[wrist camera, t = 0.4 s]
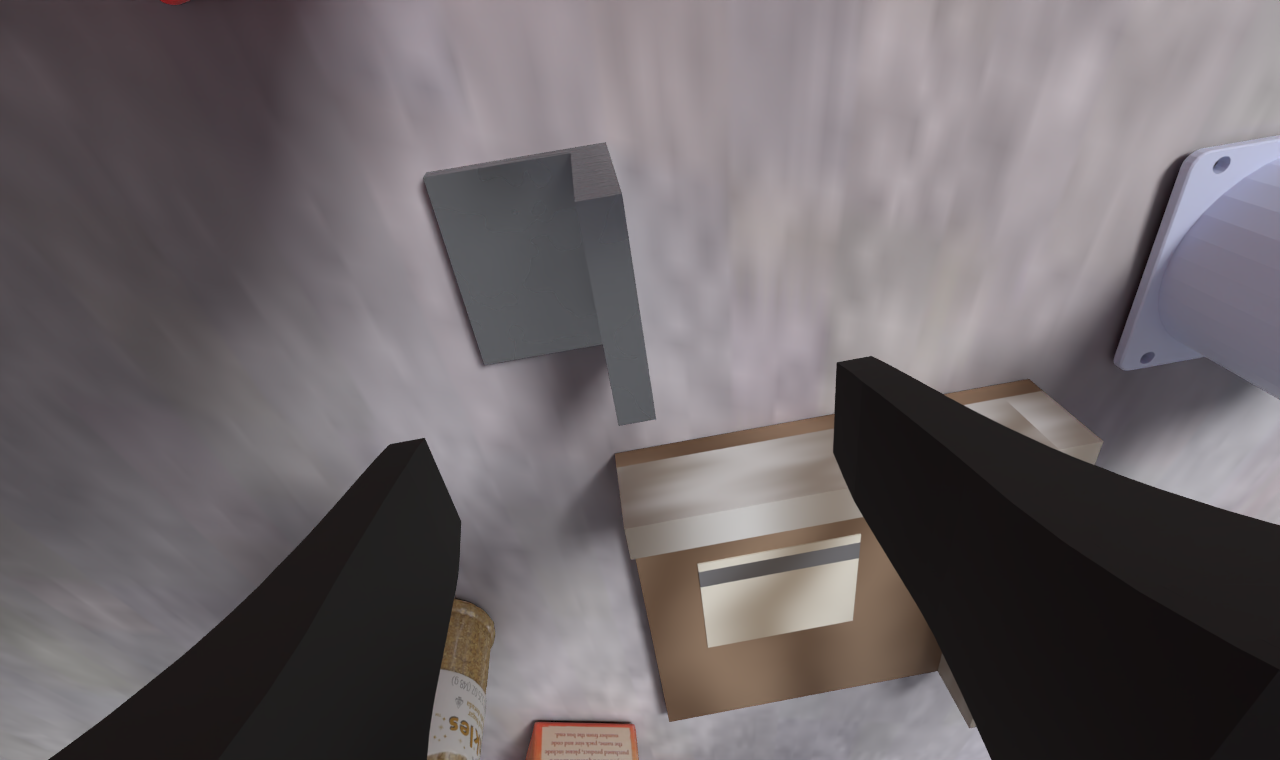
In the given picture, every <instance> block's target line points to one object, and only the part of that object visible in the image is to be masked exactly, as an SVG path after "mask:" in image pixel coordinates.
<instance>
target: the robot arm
mask: <svg viewBox="0 0 1280 760" xmlns="http://www.w3.org/2000/svg"><path fill="white" fill-rule="evenodd" d="M1216 161H1218V162H1217V164H1216V165H1215V166H1214V164H1215V163H1216ZM1213 166H1214V167H1213ZM1202 357H1207V358H1208V359H1210V360H1212V361H1213V362H1215V363H1217V364H1219V365H1220V366H1222V367H1224V368H1226V369H1227V370H1229V371H1231V372H1233V373H1234V374H1236V375H1238V376H1239V377H1241V378H1243V379H1245V380H1246V381H1248V382H1250V383H1252V384H1253V385H1255V386H1257V387H1259V388H1260V389H1262V390H1264V391H1266V392H1267V393H1269V394H1271V395H1272V396H1274V397H1276V398H1278V399H1279V400H1280V135H1277V136H1271V137H1265V138H1259V139H1253V140H1248V141H1242V142H1236V143H1230V144H1224V145H1219V146H1213V147H1207V148H1202V149H1199V150H1196V151H1194V152H1193V153H1192V154H1190V155H1189V156H1188V157H1187V158H1186V159H1185V160H1184V162H1183V163H1182V165H1181V167H1180V170H1179V173H1178V176H1177V179H1176V182H1175V185H1174V188H1173V190H1172V193H1171V196H1170V199H1169V202H1168V205H1167V208H1166V210H1165V213H1164V216H1163V219H1162V222H1161V225H1160V228H1159V230H1158V233H1157V236H1156V239H1155V242H1154V245H1153V248H1152V251H1151V253H1150V256H1149V259H1148V262H1147V265H1146V268H1145V271H1144V273H1143V276H1142V279H1141V282H1140V285H1139V288H1138V291H1137V293H1136V296H1135V299H1134V302H1133V305H1132V308H1131V311H1130V314H1129V316H1128V319H1127V322H1126V325H1125V328H1124V331H1123V334H1122V336H1121V339H1120V342H1119V345H1118V348H1117V351H1116V354H1115V356H1114V364H1115V365H1116V366H1118V367H1119V368H1120V369H1122V370H1124V371H1130V370H1136V369H1141V368H1147V367H1152V366H1158V365H1163V364H1169V363H1174V362H1180V361H1186V360H1191V359H1197V358H1202ZM833 454H834V456H835V459H836V461H837V463H838V466H839V468H840V471H841V473H842V475H843V478H844V480H845V482H846V485H847V487H848V489H849V491H850V493H851V496H852V498H853V500H854V502H855V504H856V505H857V507H858V509H859V511H860V512H861V514H862V516H863V517H864V519H865V521H866V522H867V524H868V526H869V527H870V529H871V531H872V532H873V534H874V536H875V537H876V539H877V541H878V542H879V544H880V546H881V547H882V549H883V550H884V552H885V554H886V555H887V557H888V559H889V560H890V562H891V564H892V565H893V567H894V568H895V570H896V572H897V573H898V575H899V577H900V578H901V580H902V582H903V583H904V585H905V587H906V588H907V590H908V591H909V593H910V595H911V596H912V598H913V600H914V601H915V603H916V605H917V606H918V608H919V610H920V611H921V613H922V615H923V617H924V619H925V620H926V622H927V624H928V626H929V628H930V629H931V631H932V633H933V635H934V637H935V639H936V641H937V643H938V645H939V647H940V649H941V652H942V654H943V656H944V658H945V660H946V662H947V664H948V666H949V668H950V670H951V672H952V674H953V677H954V679H955V681H956V683H957V685H958V687H959V689H960V691H961V693H962V696H963V698H964V700H965V702H966V704H967V707H968V709H969V711H970V713H971V715H972V718H973V720H974V722H975V724H976V726H977V729H978V731H979V733H980V735H981V737H982V740H983V742H984V744H985V746H986V748H987V751H988V753H989V755H990V757H991V760H1280V525H1276V524H1273V523H1269V522H1265V521H1262V520H1258V519H1255V518H1251V517H1248V516H1244V515H1241V514H1237V513H1234V512H1230V511H1227V510H1224V509H1220V508H1217V507H1214V506H1211V505H1208V504H1205V503H1201V502H1198V501H1195V500H1192V499H1189V498H1186V497H1183V496H1180V495H1177V494H1173V493H1170V492H1167V491H1164V490H1161V489H1158V488H1155V487H1152V486H1149V485H1147V484H1144V483H1141V482H1138V481H1135V480H1132V479H1129V478H1127V477H1124V476H1121V475H1119V474H1116V473H1114V472H1111V471H1109V470H1106V469H1103V468H1101V467H1098V466H1096V465H1093V464H1091V463H1088V462H1085V461H1083V460H1080V459H1078V458H1075V457H1073V456H1070V455H1068V454H1066V453H1063V452H1061V451H1058V450H1056V449H1054V448H1051V447H1049V446H1047V445H1045V444H1043V443H1040V442H1038V441H1036V440H1034V439H1032V438H1030V437H1027V436H1025V435H1023V434H1021V433H1019V432H1017V431H1014V430H1012V429H1010V428H1008V427H1006V426H1004V425H1002V424H1000V423H998V422H996V421H994V420H992V419H990V418H988V417H986V416H984V415H982V414H980V413H978V412H976V411H974V410H972V409H970V408H968V407H966V406H964V405H962V404H960V403H959V402H957V401H955V400H953V399H951V398H949V397H947V396H945V395H944V394H942V393H940V392H938V391H936V390H934V389H933V388H931V387H929V386H927V385H925V384H923V383H922V382H920V381H918V380H916V379H914V378H912V377H911V376H909V375H907V374H905V373H903V372H901V371H900V370H898V369H896V368H894V367H892V366H890V365H888V364H887V363H885V362H883V361H881V360H879V359H876V358H874V357H872V356H869V357H864V358H859V359H853V360H848V361H842V362H837V370H836V393H835V416H834V439H833ZM460 537H461V520H460V518H459V515H458V513H457V511H456V509H455V506H454V504H453V502H452V499H451V497H450V495H449V493H448V490H447V488H446V486H445V483H444V481H443V479H442V477H441V474H440V472H439V470H438V467H437V465H436V463H435V460H434V458H433V456H432V454H431V451H430V449H429V447H428V444H427V442H426V440H425V438H422V439H417V440H411V441H406V442H400V443H395V444H390V445H389V446H388V447H387V448H386V449H385V450H384V451H383V452H382V453H381V454H380V455H379V456H378V457H377V458H376V459H375V460H374V461H373V463H372V464H371V465H370V466H369V467H368V468H367V469H366V470H365V472H364V473H363V474H362V475H361V476H360V477H359V478H358V480H357V481H356V482H355V483H354V484H353V485H352V486H351V488H350V489H349V490H348V491H347V492H346V493H345V495H344V496H343V497H342V498H341V499H340V500H339V501H338V502H337V504H336V505H335V506H334V507H333V508H332V509H331V510H330V511H329V512H328V514H327V515H326V516H325V517H324V518H323V519H322V520H321V521H320V523H319V524H318V525H317V526H316V527H315V528H314V529H313V530H312V532H311V533H310V534H309V535H308V536H307V537H306V538H305V539H304V540H303V541H302V542H301V543H300V544H299V545H298V546H297V547H296V548H295V549H294V550H293V551H292V552H291V554H290V555H289V556H288V557H287V558H286V559H285V560H284V561H283V562H282V563H281V564H280V565H279V566H278V567H277V568H276V569H275V570H274V571H273V572H272V573H271V574H270V575H269V576H268V577H267V578H266V579H265V580H264V581H263V582H262V584H261V585H260V586H259V587H258V588H257V589H256V590H254V591H253V592H252V593H251V594H250V595H249V596H248V597H247V598H246V599H245V600H244V601H243V602H242V603H241V604H240V605H239V606H238V607H237V608H236V609H235V610H233V611H232V612H231V613H230V614H229V615H228V616H227V617H226V618H225V619H224V620H223V621H221V622H220V623H219V624H218V625H217V626H216V627H215V628H214V629H212V630H211V631H210V632H209V633H208V634H207V635H206V636H205V637H203V638H202V639H201V640H200V641H199V642H198V643H197V644H196V645H195V646H193V647H192V648H191V649H190V650H189V651H187V652H186V653H185V654H184V655H183V656H182V657H180V658H179V659H178V660H177V661H176V662H174V663H173V664H172V665H171V666H169V667H168V668H167V669H166V670H164V671H163V672H162V673H161V674H159V675H158V676H157V677H156V678H154V679H153V680H152V681H151V682H149V683H148V684H147V685H146V686H144V687H143V688H142V689H141V690H139V691H138V692H137V693H136V694H134V695H133V696H132V697H131V698H129V699H128V700H127V701H126V702H124V703H123V704H122V705H121V706H119V707H118V708H117V709H116V710H114V711H113V712H112V713H111V714H109V715H108V716H107V717H106V718H104V719H103V720H102V721H100V722H99V723H98V724H96V725H95V726H94V727H92V728H91V729H90V730H88V731H87V732H85V733H84V734H83V735H81V736H80V737H79V738H77V739H76V740H75V741H73V742H72V743H71V744H69V745H68V746H66V747H65V748H64V749H62V750H61V751H60V752H58V753H57V754H56V755H54V756H53V757H51V758H50V759H49V760H427V754H428V743H429V733H430V726H431V719H432V712H433V706H434V700H435V694H436V689H437V684H438V679H439V674H440V669H441V664H442V659H443V653H444V648H445V643H446V638H447V633H448V628H449V623H450V618H451V612H452V607H453V601H454V596H455V591H456V585H457V579H458V572H459V557H460Z"/></svg>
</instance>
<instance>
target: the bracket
mask: <svg viewBox="0 0 1280 760" xmlns="http://www.w3.org/2000/svg"><path fill="white" fill-rule="evenodd" d="M423 179H424V182H425V185H426V188H427V191H428V194H429V198H430V201H431V204H432V207H433V210H434V213H435V216H436V219H437V222H438V225H439V228H440V231H441V234H442V237H443V240H444V243H445V246H446V249H447V252H448V255H449V259H450V262H451V265H452V268H453V271H454V274H455V277H456V280H457V283H458V286H459V289H460V292H461V295H462V298H463V301H464V304H465V307H466V310H467V313H468V316H469V319H470V323H471V326H472V329H473V332H474V335H475V338H476V341H477V344H478V347H479V350H480V353H481V356H482V359H483V362H484V365H488V364H494V363H500V362H505V361H511V360H517V359H522V358H528V357H534V356H539V355H545V354H551V353H556V352H562V351H568V350H573V349H579V348H585V347H591V346H596V345H602V344H603V348H604V353H605V358H606V364H607V369H608V374H609V379H610V384H611V389H612V394H613V399H614V404H615V410H616V415H617V420H618V425H619V426H620V425H626V424H632V423H637V422H643V421H648V420H654V419H656V416H655V409H654V402H653V396H652V389H651V383H650V376H649V369H648V363H647V356H646V350H645V343H644V336H643V330H642V323H641V317H640V310H639V303H638V297H637V290H636V284H635V277H634V270H633V264H632V257H631V251H630V244H629V237H628V231H627V224H626V217H625V211H624V204H623V198H622V192H621V189H620V186H619V183H618V180H617V177H616V173H615V170H614V167H613V164H612V161H611V157H610V154H609V151H608V148H607V145H606V142H605V143H599V144H593V145H587V146H581V147H575V148H569V149H563V150H557V151H552V152H546V153H540V154H534V155H528V156H522V157H516V158H510V159H504V160H498V161H492V162H486V163H480V164H474V165H469V166H463V167H457V168H451V169H445V170H439V171H433V172H427V173H426V174H425V176H424V177H423Z"/></svg>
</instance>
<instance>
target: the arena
mask: <svg viewBox="0 0 1280 760" xmlns="http://www.w3.org/2000/svg"><path fill="white" fill-rule="evenodd" d="M944 395H945V396H947V397H949V398H951V399H953V400H955V401H957V402H959V403H960V404H962V405H964V406H966V407H968V408H970V409H972V410H974V411H976V412H978V413H980V414H982V415H984V416H986V417H988V418H990V419H992V420H994V421H996V422H998V423H1000V424H1002V425H1004V426H1006V427H1008V428H1010V429H1012V430H1014V431H1017V432H1019V433H1021V434H1023V435H1025V436H1027V437H1030V438H1032V439H1034V440H1036V441H1038V442H1040V443H1043V444H1045V445H1047V446H1049V447H1051V448H1054V449H1056V450H1058V451H1061V452H1063V453H1066V454H1068V455H1070V456H1073V457H1075V458H1078V459H1080V460H1083V461H1085V462H1088V463H1091V464H1093V465H1095V463H1096V460H1097V457H1098V455H1099V452H1100V449H1101V447H1102V444H1103V441H1102V440H1101V439H1100V438H1099V437H1098V436H1096V435H1095V434H1094V433H1093V432H1092V431H1090V430H1089V429H1088V428H1087V427H1086V426H1084V425H1083V424H1082V423H1081V422H1080V421H1078V420H1077V419H1076V418H1075V417H1074V416H1072V415H1071V414H1070V413H1069V412H1068V411H1066V410H1065V409H1064V408H1063V407H1062V406H1061V405H1059V404H1058V403H1057V402H1056V401H1055V400H1053V399H1052V398H1051V397H1050V396H1049V395H1047V394H1046V393H1045V392H1044V391H1043V390H1041V389H1040V388H1039V387H1038V386H1037V385H1035V384H1034V383H1033V382H1032V381H1031V380H1030V379H1027V380H1021V381H1016V382H1010V383H1004V384H999V385H993V386H988V387H982V388H977V389H971V390H966V391H960V392H954V393H949V394H944ZM834 416H835V414H832V415H827V416H821V417H816V418H810V419H805V420H799V421H793V422H788V423H782V424H777V425H771V426H766V427H760V428H755V429H749V430H743V431H738V432H732V433H727V434H721V435H716V436H710V437H705V438H699V439H693V440H688V441H682V442H677V443H671V444H666V445H660V446H655V447H649V448H643V449H638V450H632V451H627V452H621V453H616V454H615V460H616V468H617V476H618V484H619V492H620V500H621V508H622V516H623V523H624V530H625V535H626V540H627V544H628V549H629V554H630V558H631V560H632V559H636V564H637V568H638V573H639V578H640V583H641V588H642V592H643V597H644V602H645V607H646V612H647V616H648V621H649V626H650V631H651V636H652V640H653V645H654V650H655V655H656V660H657V664H658V669H659V674H660V679H661V684H662V688H663V693H664V698H665V703H666V708H667V712H668V717H669V722H672V721H677V720H682V719H688V718H693V717H698V716H703V715H709V714H714V713H719V712H724V711H730V710H735V709H740V708H745V707H751V706H756V705H761V704H766V703H772V702H777V701H782V700H787V699H793V698H798V697H803V696H808V695H814V694H819V693H824V692H829V691H835V690H840V689H845V688H851V687H856V686H861V685H866V684H872V683H877V682H882V681H887V680H893V679H898V678H903V677H908V676H914V675H919V674H924V673H929V672H935V671H938V672H939V674H940V676H941V678H942V680H943V681H944V683H945V685H946V687H947V689H948V690H949V692H950V694H951V696H952V698H953V699H954V701H955V703H956V705H957V707H958V708H959V710H960V712H961V714H962V716H963V717H964V719H965V721H966V723H967V725H968V726H969V728H973V727H977V726H976V724H975V722H974V720H973V718H972V715H971V713H970V711H969V709H968V707H967V704H966V702H965V700H964V698H963V696H962V693H961V691H960V689H959V687H958V685H957V683H956V681H955V679H954V677H953V674H952V672H951V670H950V668H949V666H948V664H947V662H946V660H945V658H944V656H943V654H942V652H941V649H940V647H939V645H938V643H937V641H936V639H935V637H934V635H933V633H932V631H931V629H930V628H929V626H928V624H927V622H926V620H925V619H924V617H923V615H922V613H921V611H920V610H919V608H918V606H917V605H916V603H915V601H914V600H913V598H912V596H911V595H910V593H909V591H908V590H907V588H906V587H905V585H904V583H903V582H902V580H901V578H900V577H899V575H898V573H897V572H896V570H895V568H894V567H893V565H892V564H891V562H890V560H889V559H888V557H887V555H886V554H885V552H884V550H883V549H882V547H881V546H880V544H879V542H878V541H877V539H876V537H875V536H874V534H873V532H872V531H871V529H870V527H869V526H868V524H867V522H866V521H865V519H864V517H863V516H862V514H861V512H860V511H859V509H858V507H857V505H856V504H855V502H854V500H853V498H852V496H851V493H850V491H849V489H848V487H847V485H846V482H845V480H844V478H843V475H842V473H841V471H840V468H839V466H838V463H837V461H836V459H835V456H834V454H833V439H834Z"/></svg>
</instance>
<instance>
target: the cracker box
mask: <svg viewBox="0 0 1280 760" xmlns="http://www.w3.org/2000/svg"><path fill="white" fill-rule="evenodd" d="M525 760H639V758H638V748H637V739H636V729H635V725H634V724H613V723H572V722H535V724H534V729H533V733H532V737H531V740H530V744H529V747H528V751H527V755H526V759H525Z"/></svg>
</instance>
